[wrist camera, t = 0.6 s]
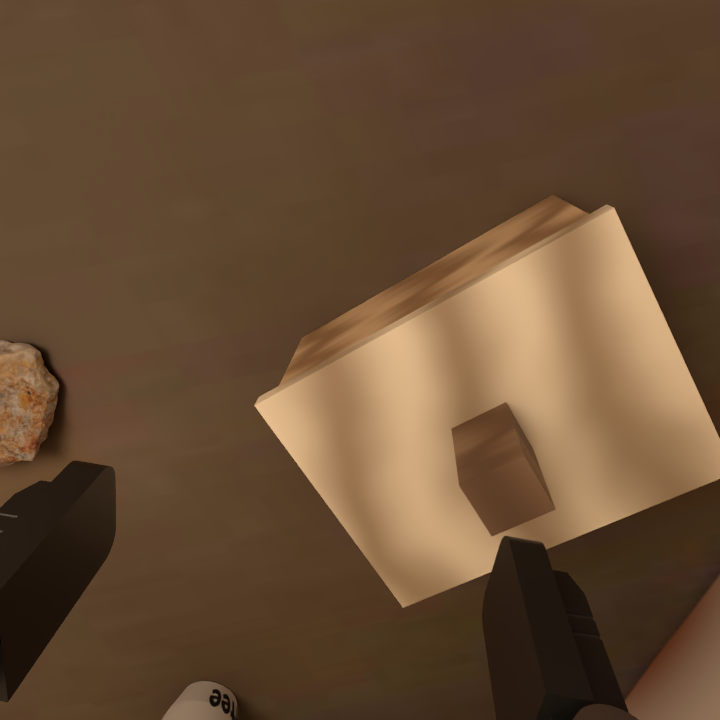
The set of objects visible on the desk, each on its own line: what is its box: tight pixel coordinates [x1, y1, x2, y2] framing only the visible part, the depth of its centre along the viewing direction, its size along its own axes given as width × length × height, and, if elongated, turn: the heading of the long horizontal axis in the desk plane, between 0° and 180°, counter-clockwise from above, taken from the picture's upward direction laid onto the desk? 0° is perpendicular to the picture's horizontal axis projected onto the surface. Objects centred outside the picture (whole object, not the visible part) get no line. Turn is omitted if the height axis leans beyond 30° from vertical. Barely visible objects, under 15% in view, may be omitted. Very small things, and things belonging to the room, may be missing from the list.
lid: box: [254, 205, 720, 607], centre depth 28 cm, size 19×15×6 cm
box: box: [279, 195, 589, 386], centre depth 35 cm, size 18×14×10 cm
